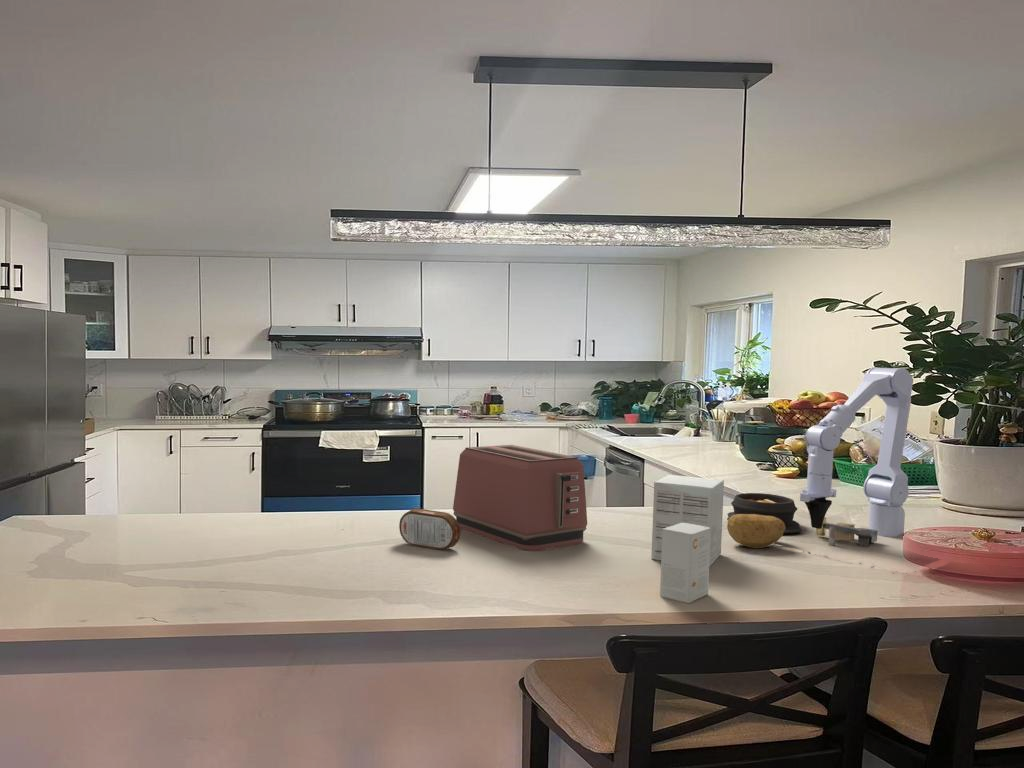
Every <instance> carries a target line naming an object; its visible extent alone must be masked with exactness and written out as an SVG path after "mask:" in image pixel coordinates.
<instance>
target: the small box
mask: <svg viewBox="0 0 1024 768" xmlns="http://www.w3.org/2000/svg"><path fill="white" fill-rule="evenodd" d="M710 535H711V528H709V527H705V526H700V525H695V524H688V523H679V524H676V525H673V526H670V527H667V528H663V529H662V552H661V560H660V581H659V582H660V584H659V585H660V587H659V596H660V597H662V598H666V599H669V600H674V601H677V602H682V603H685V604H686V603H687V604H690V603H693V602H695V601H696V600H698V599H701V598H702V597H705V596H707V595H708V594H709V587H710V586H709V583H710V567H709V560H710Z"/></svg>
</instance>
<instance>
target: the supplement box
mask: <svg viewBox="0 0 1024 768" xmlns="http://www.w3.org/2000/svg"><path fill="white" fill-rule="evenodd" d="M724 483H725V480H724V479H719V478H718V479H717V478H716V479H715V478H709V477H707V478H706V477H697V476H686V475H677V474H676V475H675V474H668V475H665V476H664V477H662V478H661V479H660V478H659V479H658V480H656V481H654V483H653V506H652V508H653V509H652V510H653V511H652V531H651V533H652V534H651V535H652V536H651V556H650V558H651V560H656V561H661V552H662V529H663V528H667V527H670V526H673V525H676V524H679V523H688V524H695V525H700V526H705V527H709V528H711V535H710V560H709V568H710V567H711V566H712V564H713V563H714V562H715V561H716V560H718V558H719V557H720V556H721V555H722V535H723V534H722V533H723V513H724V510H723V509H724V485H725V484H724Z"/></svg>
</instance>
